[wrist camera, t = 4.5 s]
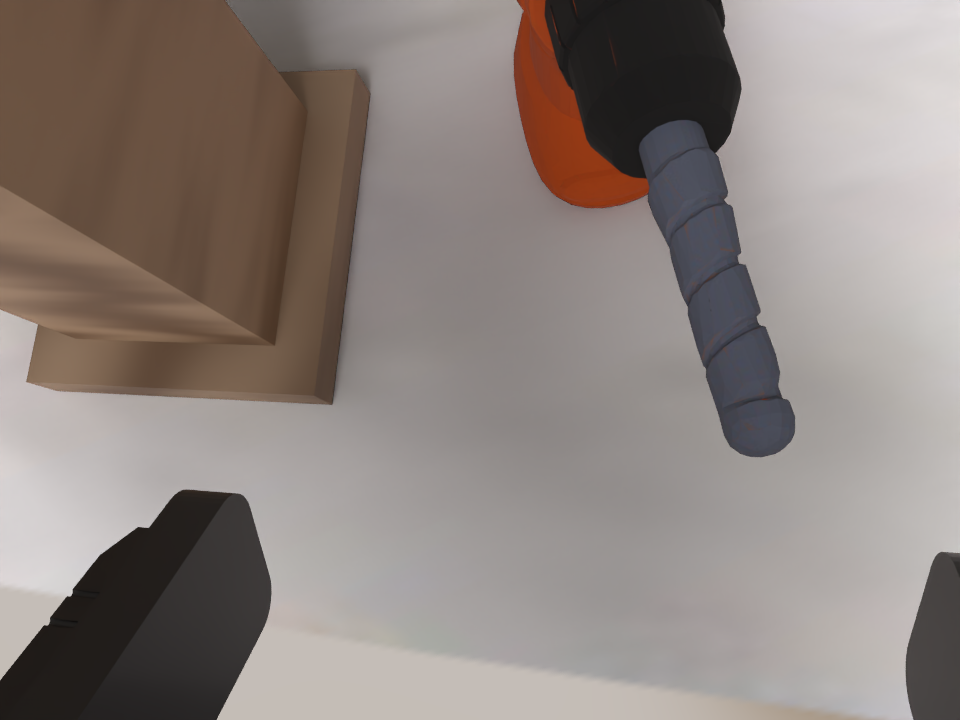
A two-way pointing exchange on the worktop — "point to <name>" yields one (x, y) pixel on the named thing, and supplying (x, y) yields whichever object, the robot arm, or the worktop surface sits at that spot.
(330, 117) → the walnut stand
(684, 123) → the toy drill
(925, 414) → the worktop surface
